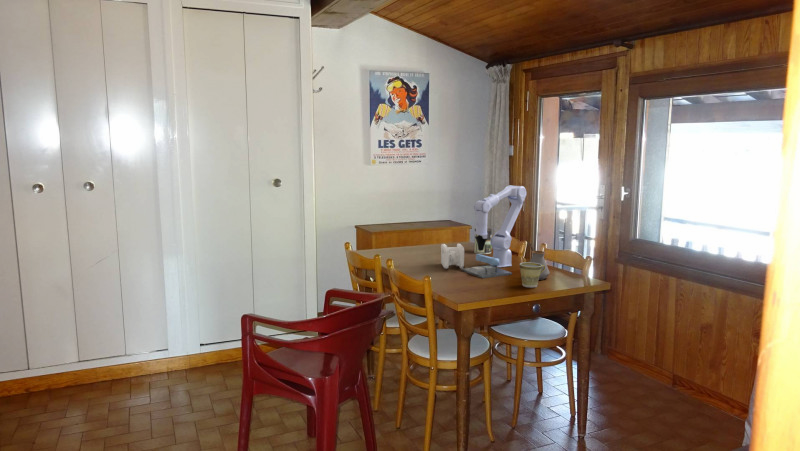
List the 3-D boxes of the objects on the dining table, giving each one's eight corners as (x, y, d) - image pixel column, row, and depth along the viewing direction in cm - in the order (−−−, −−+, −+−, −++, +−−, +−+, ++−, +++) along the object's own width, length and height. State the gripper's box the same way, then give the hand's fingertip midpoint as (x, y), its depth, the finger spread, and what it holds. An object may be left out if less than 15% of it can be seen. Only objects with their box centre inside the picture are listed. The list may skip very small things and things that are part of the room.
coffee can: (490, 251, 338) (490, 227, 336) (492, 254, 328) (493, 230, 326) (472, 250, 338) (473, 227, 336) (474, 254, 328) (475, 230, 326)
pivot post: (495, 272, 283) (495, 264, 283) (497, 272, 282) (498, 265, 281) (492, 272, 282) (492, 265, 282) (494, 273, 281) (495, 266, 280)
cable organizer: (464, 270, 287) (465, 248, 285) (443, 270, 286) (444, 248, 284) (459, 264, 301) (459, 242, 300) (439, 264, 301) (440, 242, 299)
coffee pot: (552, 280, 267) (554, 249, 265) (528, 280, 266) (530, 249, 264) (538, 270, 288) (540, 241, 286) (516, 270, 287) (518, 241, 285)
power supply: (489, 270, 283) (489, 265, 283) (495, 272, 279) (495, 267, 278) (480, 271, 281) (481, 265, 280) (486, 273, 276) (487, 267, 276)
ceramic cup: (527, 289, 250) (528, 267, 249) (514, 284, 260) (515, 263, 258) (550, 286, 256) (552, 265, 254) (537, 281, 265) (538, 261, 263)
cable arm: (500, 265, 281) (500, 259, 280) (495, 265, 279) (495, 260, 279) (480, 259, 294) (480, 253, 294) (474, 260, 292) (474, 254, 292)
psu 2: (479, 271, 280) (479, 266, 280) (485, 273, 276) (485, 268, 276) (471, 272, 278) (471, 267, 278) (476, 274, 274) (477, 269, 273)
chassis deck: (489, 267, 294) (490, 265, 294) (511, 274, 278) (511, 272, 278) (461, 270, 286) (461, 268, 286) (482, 278, 270) (482, 276, 270)
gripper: (470, 222, 293) (469, 247, 295) (477, 226, 279) (477, 253, 281) (483, 222, 294) (482, 247, 296) (491, 226, 280) (490, 252, 282)
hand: (480, 250), depth 288 cm, fingers closed
